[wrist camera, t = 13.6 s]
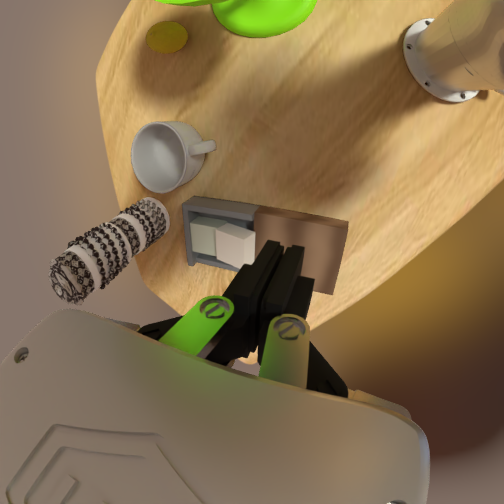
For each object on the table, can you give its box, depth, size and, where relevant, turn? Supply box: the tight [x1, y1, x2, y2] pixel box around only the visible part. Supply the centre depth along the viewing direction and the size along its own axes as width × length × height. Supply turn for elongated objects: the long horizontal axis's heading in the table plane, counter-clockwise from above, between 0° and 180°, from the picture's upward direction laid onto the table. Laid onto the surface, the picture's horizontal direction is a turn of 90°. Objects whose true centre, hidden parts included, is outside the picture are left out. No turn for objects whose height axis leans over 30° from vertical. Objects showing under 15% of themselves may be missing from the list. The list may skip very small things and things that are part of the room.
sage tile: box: [190, 216, 227, 256], centre depth 47 cm, size 6×6×3 cm
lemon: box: [146, 21, 188, 54], centre depth 30 cm, size 6×6×8 cm
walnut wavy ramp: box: [252, 205, 349, 295], centre depth 44 cm, size 14×12×3 cm
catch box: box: [182, 196, 260, 272], centre depth 47 cm, size 12×12×4 cm
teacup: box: [131, 121, 216, 193], centre depth 39 cm, size 14×11×8 cm
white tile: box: [216, 223, 255, 269], centre depth 44 cm, size 6×6×3 cm
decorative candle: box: [49, 197, 170, 305], centre depth 42 cm, size 9×9×25 cm
